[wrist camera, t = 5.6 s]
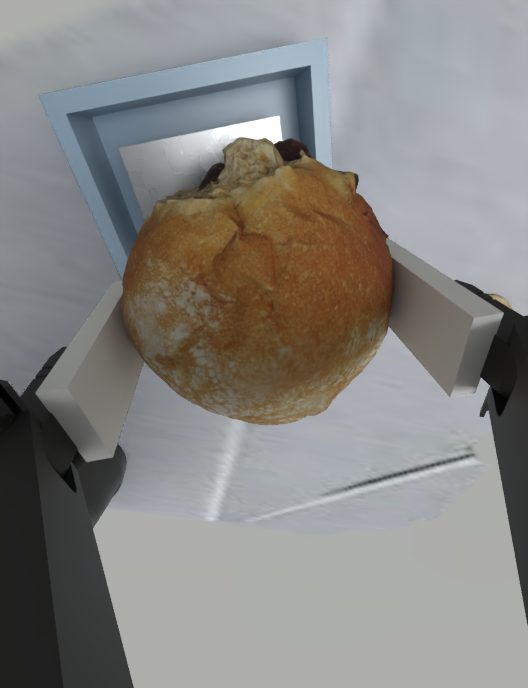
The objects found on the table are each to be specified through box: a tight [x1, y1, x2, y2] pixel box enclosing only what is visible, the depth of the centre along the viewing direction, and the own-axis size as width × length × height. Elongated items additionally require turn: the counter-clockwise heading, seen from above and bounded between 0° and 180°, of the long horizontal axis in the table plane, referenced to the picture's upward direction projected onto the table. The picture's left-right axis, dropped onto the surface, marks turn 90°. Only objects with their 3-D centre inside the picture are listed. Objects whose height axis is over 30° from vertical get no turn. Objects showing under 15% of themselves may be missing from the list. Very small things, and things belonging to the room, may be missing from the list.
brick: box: [119, 116, 282, 219], centre depth 23 cm, size 10×7×4 cm
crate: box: [38, 38, 332, 279], centre depth 23 cm, size 16×13×6 cm
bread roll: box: [122, 137, 394, 425], centre depth 12 cm, size 10×10×8 cm
